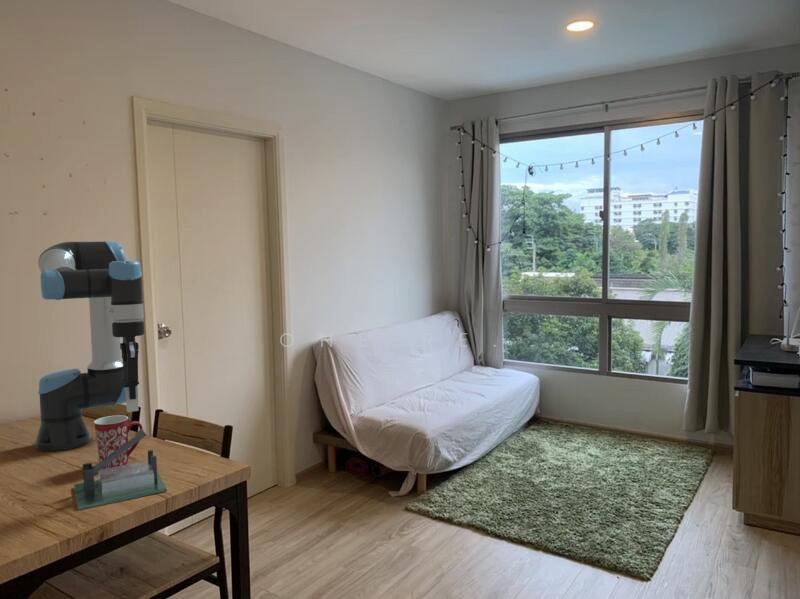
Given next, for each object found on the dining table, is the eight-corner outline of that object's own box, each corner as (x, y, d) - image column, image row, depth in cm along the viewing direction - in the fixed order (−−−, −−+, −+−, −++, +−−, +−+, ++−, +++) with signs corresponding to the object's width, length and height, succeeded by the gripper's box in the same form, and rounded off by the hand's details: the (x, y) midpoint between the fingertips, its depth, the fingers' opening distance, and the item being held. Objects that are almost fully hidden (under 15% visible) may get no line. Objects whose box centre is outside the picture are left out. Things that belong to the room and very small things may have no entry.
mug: (96, 473, 165) (93, 425, 164) (95, 463, 173) (93, 417, 172) (145, 465, 171) (143, 419, 170) (142, 455, 179) (140, 411, 178)
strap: (88, 480, 148) (83, 475, 148) (87, 476, 151) (82, 472, 150) (147, 435, 155) (143, 431, 154) (145, 433, 157) (141, 428, 157)
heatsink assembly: (77, 509, 141) (76, 477, 141) (74, 487, 155) (72, 457, 154) (166, 491, 152) (165, 460, 151) (156, 472, 165) (154, 443, 165)
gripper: (109, 320, 157) (114, 408, 158) (114, 323, 146) (119, 418, 147) (139, 318, 161) (144, 404, 162) (147, 321, 150) (152, 413, 151)
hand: (132, 410), depth 155 cm, fingers closed
